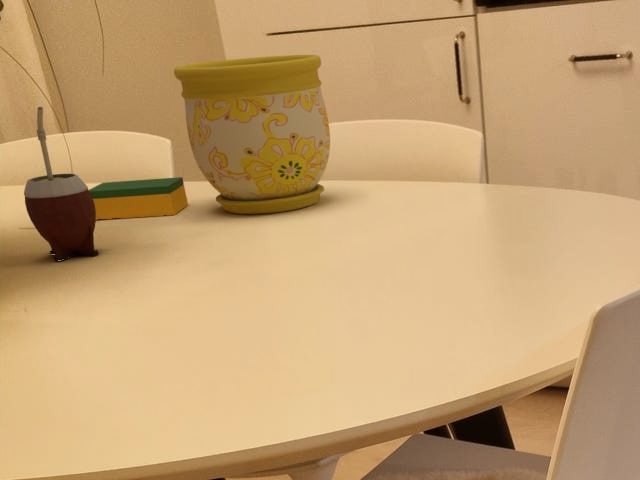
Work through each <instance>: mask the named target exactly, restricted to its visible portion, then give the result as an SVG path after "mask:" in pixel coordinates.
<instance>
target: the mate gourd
mask: <svg viewBox="0 0 640 480" xmlns="http://www.w3.org/2000/svg"><path fill="white" fill-rule="evenodd" d="M36 112H37V114H36V125H37V128H36V135H37V139H38V141H39V143H40V148H41V152H42V157H43V158H42V159H43V161H44V167H45V171H46V175H40V176H36V177H32V178H30V179H28V180H27V181H26V183H25V186H24V191H23V195H24V204H25V209H26V212H27V215H28V217H29V219H30V221H31V223H32V224H33V226H34V228H35V230H36V232H38V233H39V235H40V236H41V237H42V239H44V240H45V241H46V242H47V243H48V245H49V246H50V248H51V250H49V251H48V252H49V255H51V254H55V255H56V256H53V257H52V259H53V261H54V260H55V261H58V260H62V259H66V258H68V257H71V256H74V255H86V256H85V257H97V256H99V250H98V249H95V240H94V239H95V235H94V233H95V229H96V223H97V220H96V210H95V204H94V201H93V199H92V196H91V194H90V192H89V190H90V189H89V187H88V185H87V184H86V183H85V182H84V181H83V180H82V179H81V178H80V177H79V175H77V174H76V173H56V174H55V173H54V174H53V171H52V170H53V169H52V165H51V161H50V155H49V150H48V145H47V134H46V130H45V129H44V121H43V120H44V108H43V106H38V107H37V111H36ZM96 255H97V256H96ZM74 257H75V256H74ZM71 258H72V257H71ZM68 259H69V258H68ZM66 260H67V259H66ZM55 261H54V262H55Z"/></svg>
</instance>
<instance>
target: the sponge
mask: <svg viewBox="0 0 640 480" xmlns="http://www.w3.org/2000/svg"><path fill="white" fill-rule="evenodd" d="M88 190H89V192H90V194H91V196H92V199H93V201H94V204H95V210H96V221H99V220H98V219H107V220H115V219H114V218H121V219H135V218H149V217H150V218H151V217H162V216H163V217H164V215H166V216H175V215H176V214H178V213H179V212H181V211H182V210H183V209H185V208H187V207H188V205H189V201H188V197H187V192H186V188H185V183H184V178H183V177H182V176H179V177H165V178H152V179H151V178H149V179H136V180H123V181H121V180H120V181H107V182H106V181H105V182H101V183H100V184H98V185H95V186H94V187H92V188H90V189H88ZM112 218H113V219H112Z"/></svg>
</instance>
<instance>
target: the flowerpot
mask: <svg viewBox="0 0 640 480" xmlns="http://www.w3.org/2000/svg"><path fill="white" fill-rule="evenodd" d="M321 65H322V59H321V57H320V56H319V55H318V54H317V55H316V54H290V55H289V54H287V55H286V54H285V55H271V56H258V57H257V56H255V57H245V58H234V59H224V60H223V59H222V60H214V61H213V60H212V61H206V62H197V63H190V64H184V65H178V66H176V67H174V69H173V75H174V77H175V78H176V79H177V80H178V81H180V83H181V88H182V92H181V94H180V95H181V97H182V98H183V101H184V109H185V121H186V129H187V135H188V141H189V145H190V148H191V151H192V154H193V158H194V161H195V163H196V165H197V166H198V168H199V170H200V172H201V174H202V175H203V177H204V178H205V179H206V181H207V182H208V183H209V185H211V186H212V188H214V189H215V190H216V191H217V192H218V193H219V194H218V195H217V196H216V197H215V201H216V203H219V204H221V205H222V207H223V209H224V210H225V211H226V212H228V213H232V214H238V215H260V214H261V215H263V214H273V213H282V212H289V211H294V210H299V209H303V208H307V207H310V206H312V205H314V204H316V203H318V201H319V200H320V196H321V193H323V192H324V191H325V186H324V185H323V184H320V183H319V182H320V181H321V179H322V178H323V175H324V174H325V172H326V168H327V165H328V163H329V159H330V151H331V132H330V124H329V117H328V113H327V109H326V105H325V101H324V97H323V94H322V89H321V85H322V80H320V78H319V72H318V70H319V68H321ZM306 206H307V207H306Z"/></svg>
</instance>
